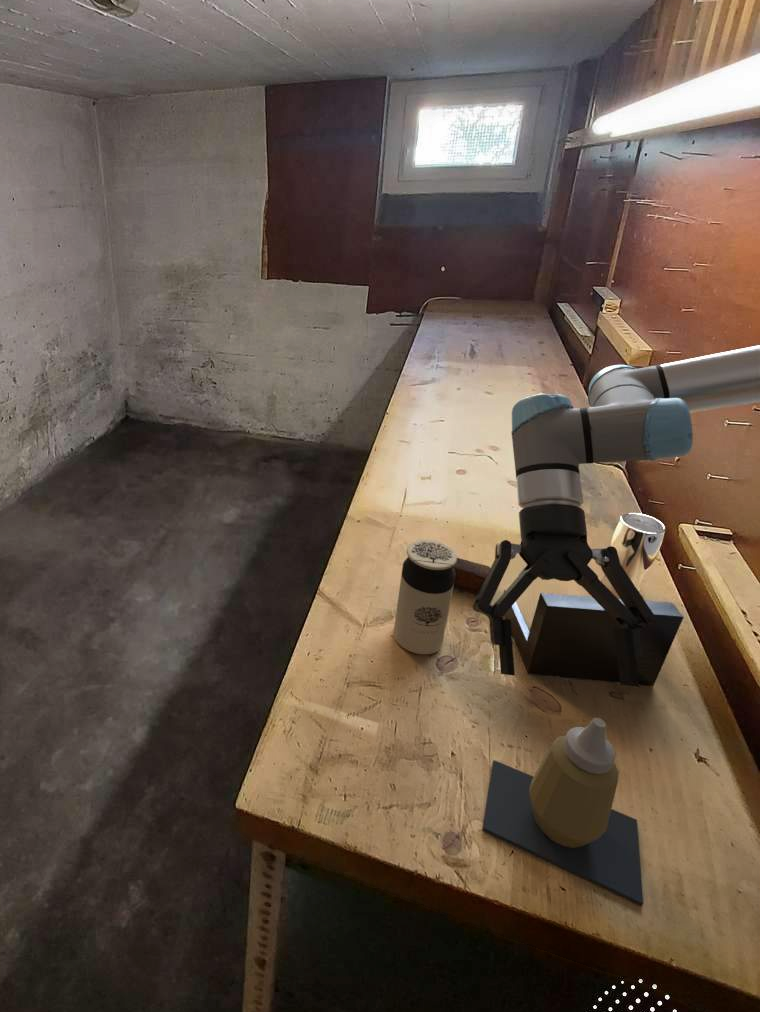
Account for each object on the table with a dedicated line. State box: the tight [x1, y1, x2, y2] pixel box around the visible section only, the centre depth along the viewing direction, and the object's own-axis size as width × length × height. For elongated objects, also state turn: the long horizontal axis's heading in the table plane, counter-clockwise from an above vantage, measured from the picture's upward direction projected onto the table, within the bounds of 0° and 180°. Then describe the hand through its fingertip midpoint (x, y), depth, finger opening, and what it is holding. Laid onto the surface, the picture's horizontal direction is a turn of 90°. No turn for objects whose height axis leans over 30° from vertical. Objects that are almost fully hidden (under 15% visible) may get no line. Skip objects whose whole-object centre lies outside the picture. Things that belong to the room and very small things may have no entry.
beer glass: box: [600, 512, 667, 599], centre depth 102 cm, size 7×7×15 cm
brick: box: [453, 557, 491, 595], centre depth 107 cm, size 11×4×5 cm, turn 61°
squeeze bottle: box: [529, 717, 620, 848], centre depth 64 cm, size 8×8×18 cm
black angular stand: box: [502, 589, 684, 687], centre depth 91 cm, size 16×18×14 cm
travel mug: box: [393, 539, 458, 655], centre depth 92 cm, size 8×8×18 cm
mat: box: [481, 759, 644, 907], centre depth 68 cm, size 16×10×1 cm, turn 60°
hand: (567, 680), depth 68 cm, fingers open, 13 cm apart
